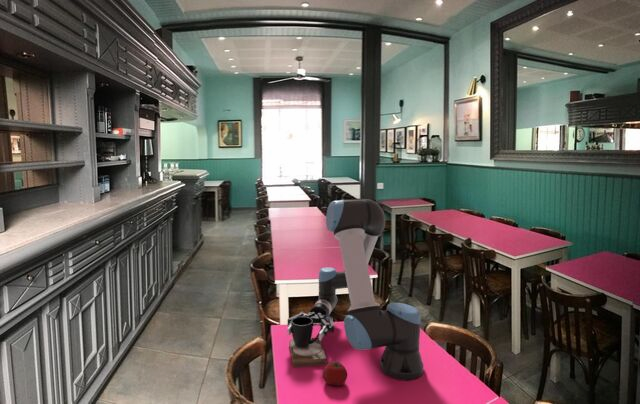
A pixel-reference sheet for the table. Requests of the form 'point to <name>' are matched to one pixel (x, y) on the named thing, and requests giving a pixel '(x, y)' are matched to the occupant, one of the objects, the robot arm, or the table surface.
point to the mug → (303, 331)
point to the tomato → (335, 373)
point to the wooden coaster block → (308, 354)
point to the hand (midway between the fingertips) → (303, 334)
